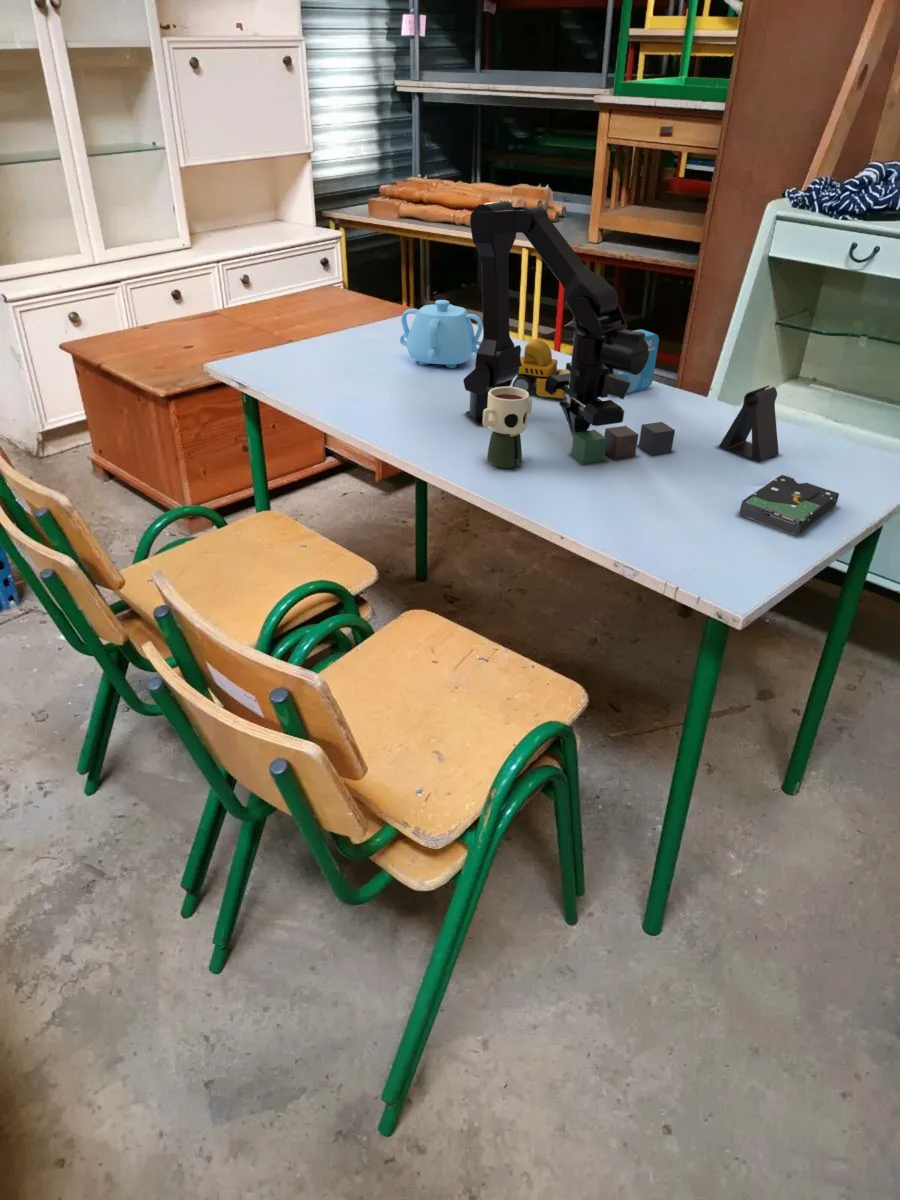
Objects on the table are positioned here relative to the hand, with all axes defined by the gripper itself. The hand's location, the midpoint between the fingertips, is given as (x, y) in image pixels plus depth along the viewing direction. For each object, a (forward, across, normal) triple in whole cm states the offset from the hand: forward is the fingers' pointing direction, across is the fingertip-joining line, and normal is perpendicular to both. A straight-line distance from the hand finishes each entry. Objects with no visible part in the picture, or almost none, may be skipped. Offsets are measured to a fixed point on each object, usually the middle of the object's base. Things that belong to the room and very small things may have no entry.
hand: (577, 443), depth 162 cm
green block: (+1, -4, 0) cm, 4 cm away
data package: (+2, +26, -27) cm, 37 cm away
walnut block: (+1, -4, -6) cm, 8 cm away
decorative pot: (+2, +57, +4) cm, 57 cm away
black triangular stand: (+1, -11, -30) cm, 32 cm away
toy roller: (+2, +30, -9) cm, 31 cm away
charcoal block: (+1, -5, -14) cm, 15 cm away
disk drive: (+1, -34, -20) cm, 39 cm away
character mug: (+2, -1, +16) cm, 16 cm away
